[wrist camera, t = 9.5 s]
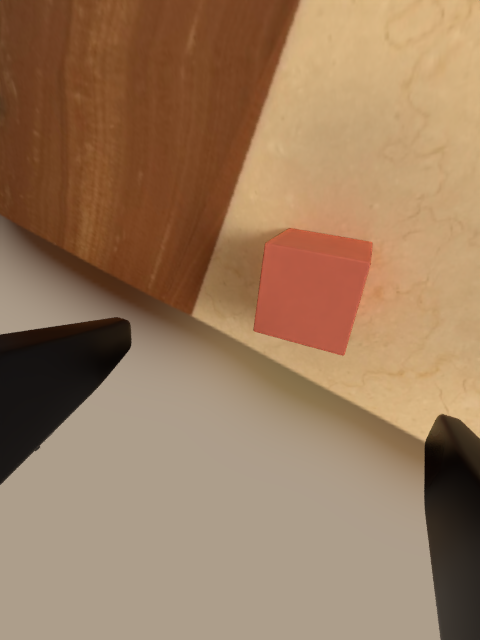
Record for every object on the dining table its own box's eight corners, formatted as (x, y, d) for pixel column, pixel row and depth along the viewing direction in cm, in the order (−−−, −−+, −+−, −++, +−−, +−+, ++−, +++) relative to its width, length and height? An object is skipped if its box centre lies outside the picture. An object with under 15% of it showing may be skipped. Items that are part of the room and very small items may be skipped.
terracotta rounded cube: (351, 319, 18) (344, 356, 15) (276, 301, 20) (252, 331, 16) (373, 242, 16) (371, 262, 13) (288, 227, 18) (264, 242, 14)
